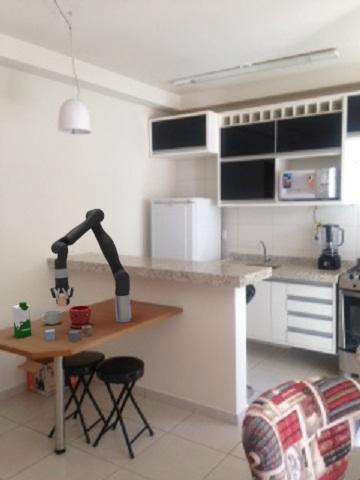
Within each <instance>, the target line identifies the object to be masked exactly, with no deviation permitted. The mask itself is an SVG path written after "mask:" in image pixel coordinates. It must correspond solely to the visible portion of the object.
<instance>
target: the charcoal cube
mask: <svg viewBox="0 0 360 480" xmlns="http://www.w3.org/2000/svg"><path fill="white" fill-rule="evenodd" d="M67 333H68V334H67V335H68V342H72V343H73V342H74V343H77V342H80V341H81V340H82V330H77V329H74V330H73V329H72V330H71V331H69V332H67Z"/></svg>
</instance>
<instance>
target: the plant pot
mask: <svg viewBox="0 0 360 480" xmlns="http://www.w3.org/2000/svg"><path fill="white" fill-rule="evenodd" d="M68 313H69V318H70V321H71V323H70V327H72V328H73V329H82V326H89V325H90V320H91V316H92V308H91V306H89V305H74V306H70V307H69V312H68Z"/></svg>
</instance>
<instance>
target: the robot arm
mask: <svg viewBox="0 0 360 480" xmlns="http://www.w3.org/2000/svg"><path fill="white" fill-rule="evenodd" d="M104 219H105V212H104V211H103V210H102V209H101V208H93V209H90V210H88V211H87V212H86V213H85V220H84V221H82V222H81V223H79V224H77V226H75V227H73V228H72V229H70V230H69V231H68V232H67V233H66V234H65V235H63V236H62V237H60V238H59V239H57V240H56V241H54V242H53V243H52V244H51V246H50V250H51V253H53V254H54V255H56V256H57V257H56V258H55V259H54V262H53V264H54V266H53V267H54V284H55V285H54V287H53V286H52V287H51V288H49V290H50V293H51V297H52V298H53V299H55V301H56V302H55V303H56V305H57V306H58V304H57V298H58V297H60V295H61V294H63V295H64V296H66V298H67V299H66V300H67V306H69V305H70V303H71V298H73V295H74V291H75V287H74V286H70V285H69V272H68V271H69V270H68V261H67V260H68V257H69V246H72V245H74V244H75V243H76V242H77V241H79V240H80V238H82V237H83V236H84V235H85V234H86V233H87V232H89V231H90V230H91V232H93V235H94V237H95V240H96V242H97V245H98V246H99V248H100V251H101V253H102V255H103V257H104V258H105V261H106V262H107V264H108V266H109V268H110V271H111V274H112V277H113V280H114V283H115V289H114V290H115V291H114V297H115V298H114V301H115V303H114V305H115V319H116V320H115V321H116V323H122V324H123V323H130V322H131V321H132V305H131V299H130V298H131V296H130V291H131V286H130V285H131V282H130V280H131V279H130V274H129V272H127V271H126V270H125V268H124V266H123V265H122V263H121V261H120V256H119V253H118V249H117V246H116V244H115V242H114V240H113V238H112V237H111V236H110V235H109V234H108V233H107V232H106V231H105V229H104V228H103V226H102V224H101V223H102V222H103V221H104ZM55 291H56V292H55ZM69 291H70V292H69Z"/></svg>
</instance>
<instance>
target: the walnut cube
mask: <svg viewBox="0 0 360 480" xmlns="http://www.w3.org/2000/svg"><path fill="white" fill-rule="evenodd" d="M92 330H93V329H92V325H90V324H89V325H88V326H82V328H81V338H82V337H84V338H85V337H92V335H91V334H93V332H92Z"/></svg>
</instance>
